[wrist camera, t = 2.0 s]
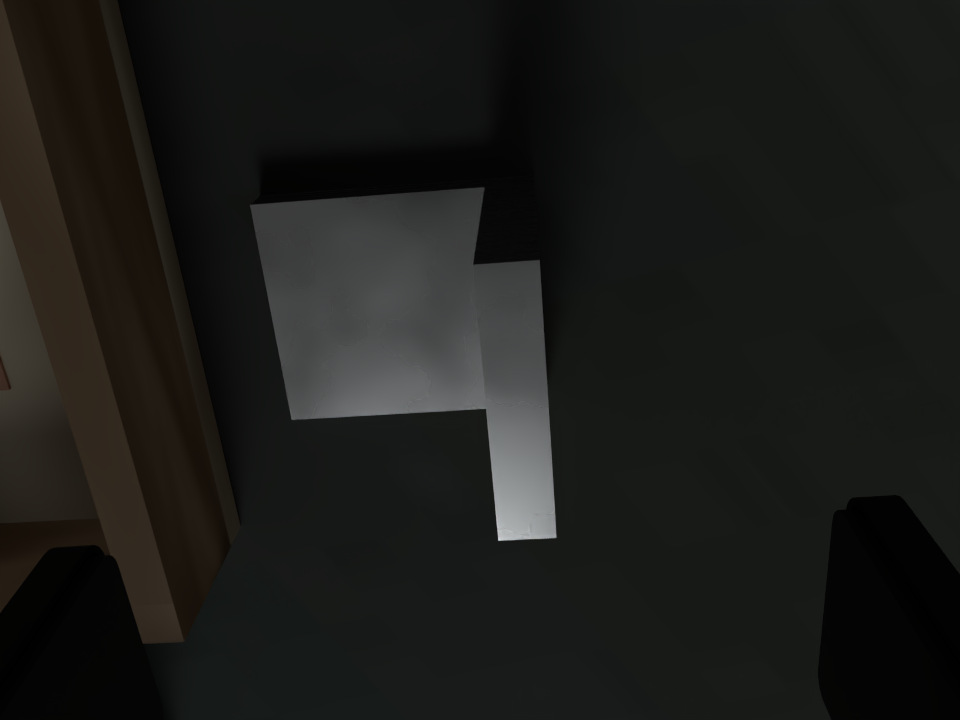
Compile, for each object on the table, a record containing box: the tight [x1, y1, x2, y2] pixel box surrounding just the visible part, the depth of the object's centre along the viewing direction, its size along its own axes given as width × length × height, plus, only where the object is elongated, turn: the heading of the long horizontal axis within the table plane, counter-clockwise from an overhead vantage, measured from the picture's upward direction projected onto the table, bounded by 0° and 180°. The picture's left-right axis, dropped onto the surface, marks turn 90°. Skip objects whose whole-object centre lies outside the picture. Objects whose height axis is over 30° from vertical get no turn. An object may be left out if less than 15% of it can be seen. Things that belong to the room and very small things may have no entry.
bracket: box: [250, 175, 556, 540], centre depth 20 cm, size 7×6×7 cm
